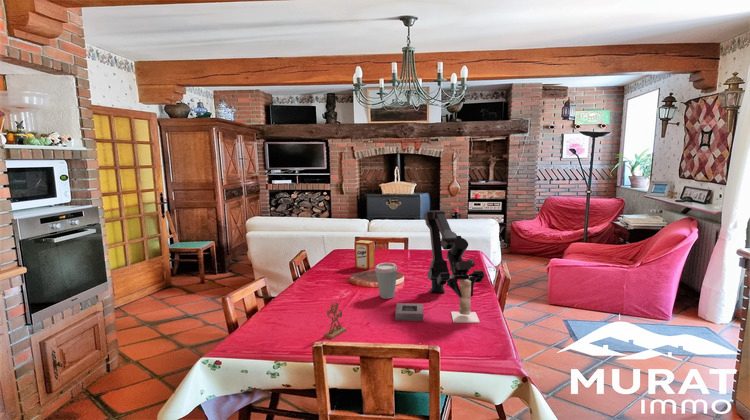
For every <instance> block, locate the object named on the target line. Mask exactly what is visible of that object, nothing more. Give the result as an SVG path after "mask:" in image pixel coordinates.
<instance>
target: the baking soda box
mask: <svg viewBox="0 0 750 420" xmlns="http://www.w3.org/2000/svg"><path fill="white" fill-rule="evenodd" d="M375 258H376V257H375V241H374V240H373V241H372V240H364V239H363V240H362V239H359V240H357V241H354V268H355V269H359V270H365V271H370V270H373V269H375V267H376V265H375V264H376V263H375Z"/></svg>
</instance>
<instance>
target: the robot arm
mask: <svg viewBox="0 0 750 420" xmlns="http://www.w3.org/2000/svg"><path fill="white" fill-rule="evenodd" d="M423 220H424V221H425V225H426V226H427V228H428V229H429V235H430V243H431V255H432V260H431V262H430V264H429V265H430V266H429V269H428V271H427V279H429V280H430V281H431V287H430V289H429V290H430V293H431V294H445V293H446V292H445V288H444V285H446V287H449V288H450V289H451V290H452V291H453V292H454V293H455V294H456V295H457V297H460V298H461V292H460V285H459V283H458V281H460V280H464V279H465V280H470V281H471V298H473V296H474V285H475V283H481V282H482V281H483V280H484V278H485V276H486V274H485V271H484V270H482V269H480V270H479V269H477V270H473V271H472V273H469V272H470V270H471V269H472V268H474V267H476V264H475V260H474V258H469V259H467V260H463V256H464V254H465V252H466V251H467V249H468V247H469V242H468V241H467V239H466V238H463V237H462V235H457V233H456V232H454V231H452V228H451V227H450V224H449V222H448V220H447V217H446V213H445V211H444V210H437V209H436V210H426V212H424V214H423ZM442 249H443V250H445V251H446V250H448V251H447V253H446V259H448V262H447V260H446V259H444V257H443V250H442ZM448 264H449V267H448ZM450 271H451V273H452V274H451V273H450Z"/></svg>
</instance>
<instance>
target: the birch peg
mask: <svg viewBox="0 0 750 420" xmlns="http://www.w3.org/2000/svg"><path fill="white" fill-rule="evenodd" d="M459 289H460V292H461V298H460V297H459V296H458V297H459V302H458V303H459V306H458V308H459V310H458V312H459V313H460V314H463V315H469V314H470V312H472V311H471V307H472V305H471V299H472V297H471V281H470V280H467V279H462V280H459Z"/></svg>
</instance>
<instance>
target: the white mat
mask: <svg viewBox="0 0 750 420" xmlns="http://www.w3.org/2000/svg"><path fill="white" fill-rule="evenodd" d="M450 315H451V318H452V322H453V323H458V324H459V323H461V324H463V323H465V324H480V319H479V317H478V314H477V312H475V311H470V314H469V315H463V314H460V313H459V311H450Z"/></svg>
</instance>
